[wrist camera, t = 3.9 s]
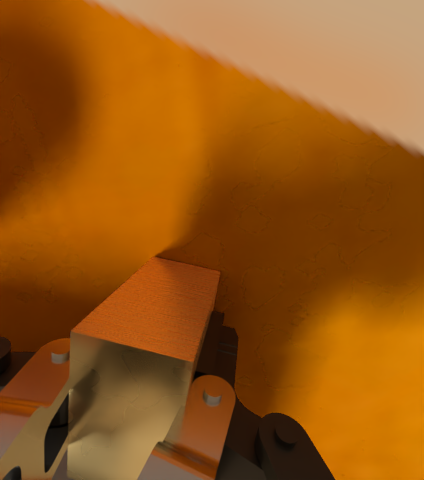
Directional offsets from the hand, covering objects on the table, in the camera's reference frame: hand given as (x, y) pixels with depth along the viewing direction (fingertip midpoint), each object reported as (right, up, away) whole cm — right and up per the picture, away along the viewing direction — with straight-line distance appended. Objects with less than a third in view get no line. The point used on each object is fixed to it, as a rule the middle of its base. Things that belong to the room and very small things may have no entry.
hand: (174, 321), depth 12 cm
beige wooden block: (0, 0, +1) cm, 1 cm away
